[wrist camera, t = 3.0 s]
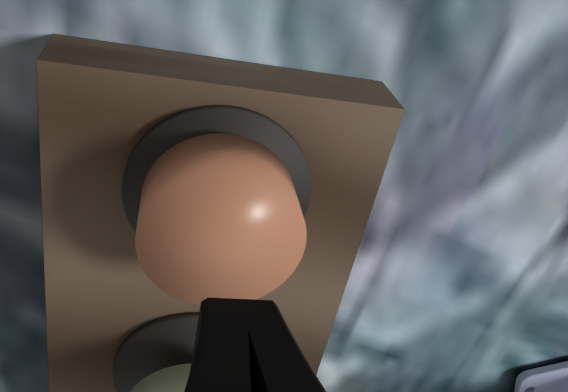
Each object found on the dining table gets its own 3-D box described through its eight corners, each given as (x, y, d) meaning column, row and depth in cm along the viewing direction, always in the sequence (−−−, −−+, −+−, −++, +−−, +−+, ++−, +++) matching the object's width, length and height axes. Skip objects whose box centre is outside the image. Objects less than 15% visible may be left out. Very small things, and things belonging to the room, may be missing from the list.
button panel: (262, 476, 26) (268, 526, 24) (63, 482, 24) (52, 537, 22) (382, 81, 16) (408, 114, 14) (54, 34, 14) (33, 64, 12)
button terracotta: (278, 265, 16) (288, 309, 14) (136, 257, 15) (130, 303, 13) (308, 142, 14) (323, 179, 12) (145, 124, 13) (140, 160, 11)
